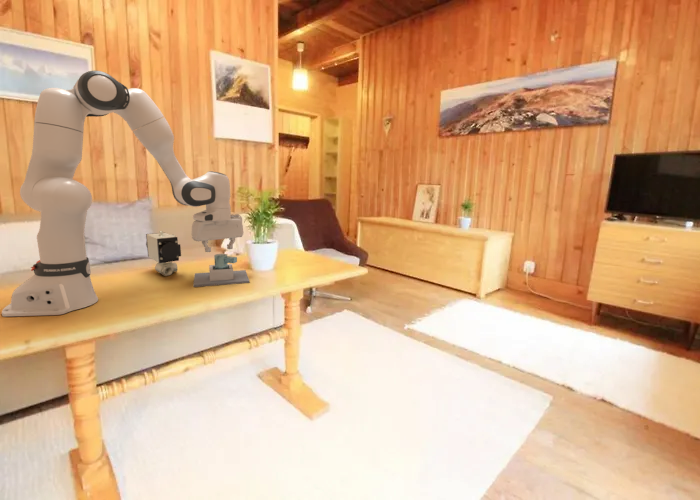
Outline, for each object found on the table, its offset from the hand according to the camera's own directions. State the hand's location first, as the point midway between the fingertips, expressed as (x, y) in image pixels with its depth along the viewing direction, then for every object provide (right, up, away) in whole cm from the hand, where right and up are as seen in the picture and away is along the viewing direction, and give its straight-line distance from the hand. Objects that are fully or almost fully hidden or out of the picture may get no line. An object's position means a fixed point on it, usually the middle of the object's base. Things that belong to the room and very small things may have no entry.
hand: (219, 250), depth 139 cm
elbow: (+2, -11, +2) cm, 11 cm away
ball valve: (-25, -10, +7) cm, 27 cm away
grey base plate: (0, -11, +3) cm, 12 cm away
